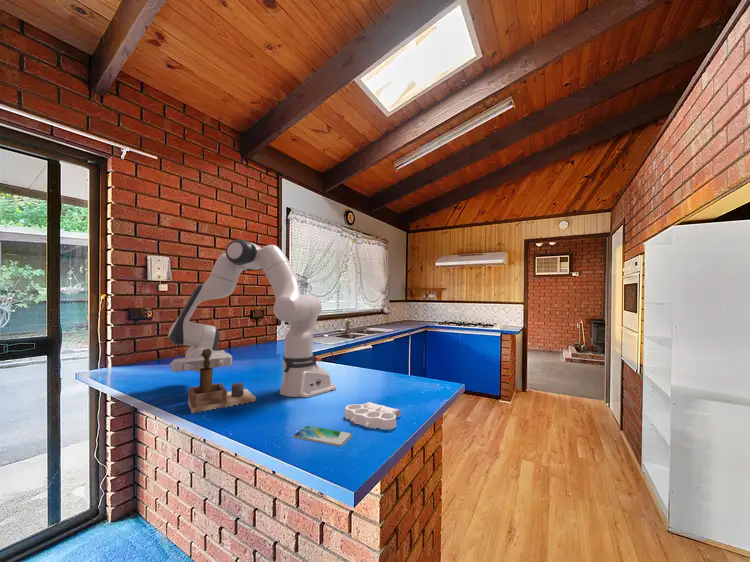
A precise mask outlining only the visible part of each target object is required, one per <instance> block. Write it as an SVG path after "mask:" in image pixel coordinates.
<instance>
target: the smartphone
mask: <svg viewBox="0 0 750 562" xmlns="http://www.w3.org/2000/svg"><path fill="white" fill-rule="evenodd" d="M292 437H293V438H294V437H295V438H294V439H298V438H300V439H299V440H303V439H305V440H304V441H308V440H310V441H309V442H313V441H316V442H315V443H319V442H320V443H321V444H324V443H325V445H330V446H335V447H343V446H344V445H345V444H346V443H347V442H348V441H349V440H350V439H352V437H353V433H351V432H346V431H341V430H334V429H331V428H330V429H328V428H323V427H318V426H313V425H312V426H311V425H305V426H304V427H303V428H301V429H300V430H298V431H297V432H295V433H294V434H293V436H292Z"/></svg>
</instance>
